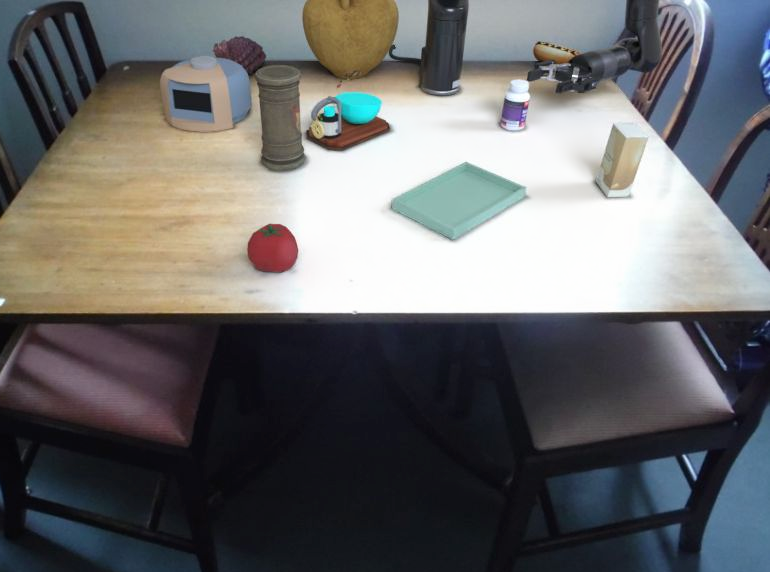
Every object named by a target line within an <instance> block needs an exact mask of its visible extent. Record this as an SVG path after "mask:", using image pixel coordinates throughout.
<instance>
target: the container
mask: <svg viewBox="0 0 770 572" xmlns="http://www.w3.org/2000/svg"><path fill="white" fill-rule="evenodd" d="M301 76H302V74H301V71H300V70H299V69H298V68H296V67H294V66H292V65H286V64H273V65H267V66H263V67H261V68H258V69H257V70H256V72H255V73H254V79H255V81H256V86H257V88H258V95H257V97H258V99H259V112H260V122H261V123H260V124H261V142H262V147H261V151H260V152H261V156H260V160H261V163H262V165H263V166H264V168H266V169H269V170H271V171H274V172H275V171H276V172H288V171H291V170H292V171H293V170H296V169H297V168H300V167H301V166H302V165H304V163H305V161H306V154H305V147H304V145H303V134H302V126H301V124H302V122H301V105H300V104H301V103H300V102H301V100H300V97H301V93H300V87H299V86H300V84H301V83H300V80H301Z"/></svg>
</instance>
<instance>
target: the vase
mask: <svg viewBox="0 0 770 572" xmlns="http://www.w3.org/2000/svg"><path fill="white" fill-rule="evenodd" d="M399 16H400V15H399V8H398V5H397V3H396V2H395V1H394V0H306V1H305V3H304V6H303V8H302V16H301V18H302V28H303V31H304V36H305V39H306V42H307V44H308V47H309V48H310V50H311V52H312V54H313V55H314V57H315V59H316V60H317V61H318V62H319V63H320V64H321V65H322V66H323V67H324V68H326V69H327V70H329V71H330V72H331V73H332V74H333V75H334V76H335V77H337V78H339V79H342V77H343V75H345V73H347V72H351V71H358V70H359V71H360V72H361V74H360V75H358V76H354V77H350V78H349V77H346V75H345V76H344V78H343V80H347V79H349V80H357V79H362V78H364V77H365V76H367V75H368V73H370V72H371V71H372V70H373V69H374V68H376V67H378V65H380V64H381V63H382V62H383V61H384V59H385V58H386V56H387V55H388V54H389V50H390V48H391V46H392V45H393V44H394V41H395V39H396V36H397V31H398V27H399V19H400V17H399Z"/></svg>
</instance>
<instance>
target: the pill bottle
mask: <svg viewBox="0 0 770 572" xmlns="http://www.w3.org/2000/svg"><path fill="white" fill-rule="evenodd" d="M529 87H530V82H529V81H527V80H525V79H511V80H510V81H509V87H508V90H507V91H506V92H505V94H504V98H503V103H502V104H503V105H502V110H501V117H500V122H499V123H500V127H502V128H503V129H505V130H508V131H520V130H523V129H524V128H525V126H526V120H527V116H528V111H529V106H530V101H531V95H530V93H529Z"/></svg>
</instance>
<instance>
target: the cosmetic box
mask: <svg viewBox="0 0 770 572" xmlns="http://www.w3.org/2000/svg"><path fill="white" fill-rule="evenodd" d="M649 138H650V137H649V136H648V134H647V133H646V132H645V131H644V130H643V129H642V127H640V126H639V125H638V124H637V122H635V121H630V122H629V121H627V122H626V121H625V122H613V123H612V126H611V129H610V133H609V136H608V140H607V143H606V146H605V150H604V153H603V157H602V159H601V163H600V166H599V169H598V173H597V176H596V179H595V182H596V184H597V186H599V188H600V189H601V191H602V193H603V194H605V197H607V198H623V197H626V198H627V197H630V193H631V190H632V187H633V185H634V182H635V178H636V176H637V173H638V171H639V168H640V164H641V161H642V158H643V155H644V152H645V149H646V146H647V144H648V141H649Z"/></svg>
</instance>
